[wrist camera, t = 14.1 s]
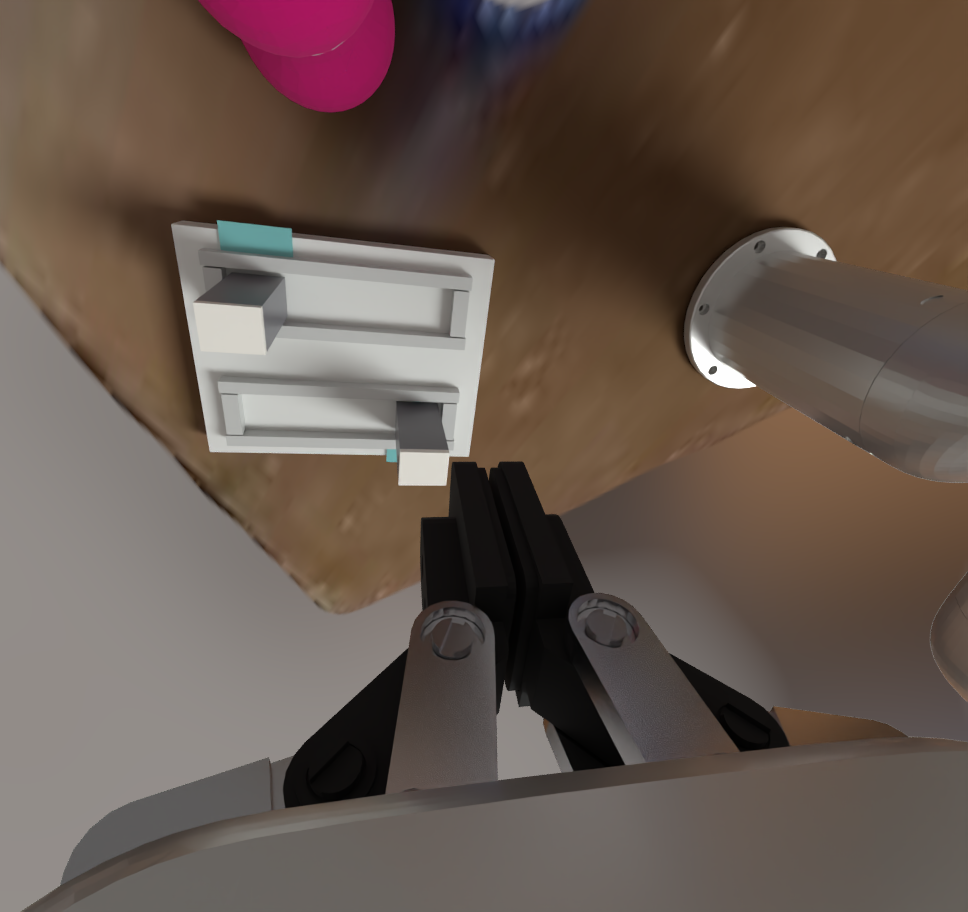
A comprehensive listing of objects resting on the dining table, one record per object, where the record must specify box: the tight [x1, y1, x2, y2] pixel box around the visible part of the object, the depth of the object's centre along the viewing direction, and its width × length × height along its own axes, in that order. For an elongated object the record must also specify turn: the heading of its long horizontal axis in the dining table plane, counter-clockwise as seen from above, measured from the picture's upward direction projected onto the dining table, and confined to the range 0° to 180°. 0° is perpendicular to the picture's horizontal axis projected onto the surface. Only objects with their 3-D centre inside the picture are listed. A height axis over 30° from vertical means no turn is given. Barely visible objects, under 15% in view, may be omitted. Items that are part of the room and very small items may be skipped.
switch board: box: [171, 220, 495, 462], centre depth 34 cm, size 19×16×3 cm
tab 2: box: [395, 401, 450, 485], centre depth 33 cm, size 3×2×7 cm
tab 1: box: [193, 272, 288, 355], centre depth 27 cm, size 3×2×7 cm
